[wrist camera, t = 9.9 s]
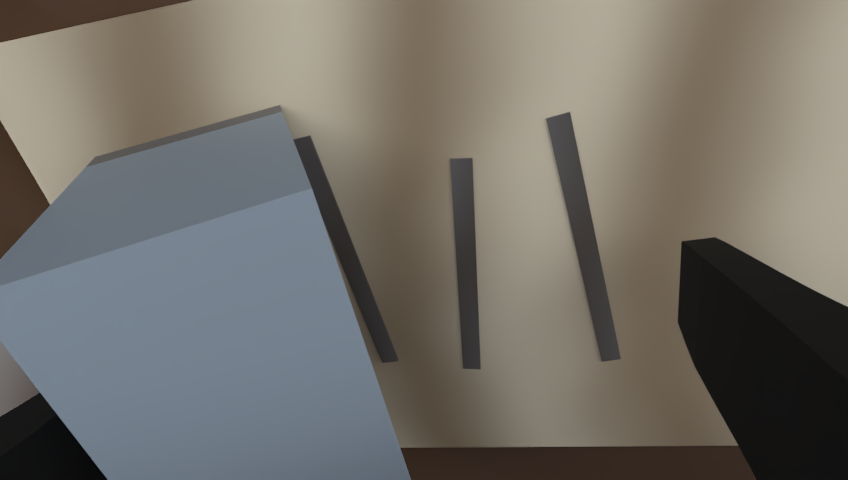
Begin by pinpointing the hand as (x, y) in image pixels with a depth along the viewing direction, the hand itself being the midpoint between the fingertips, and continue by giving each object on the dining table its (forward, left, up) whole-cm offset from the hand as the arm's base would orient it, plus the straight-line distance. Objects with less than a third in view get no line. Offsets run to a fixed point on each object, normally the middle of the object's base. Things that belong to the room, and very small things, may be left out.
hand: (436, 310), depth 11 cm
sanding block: (+5, 0, -1) cm, 5 cm away
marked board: (+1, 0, -3) cm, 3 cm away
